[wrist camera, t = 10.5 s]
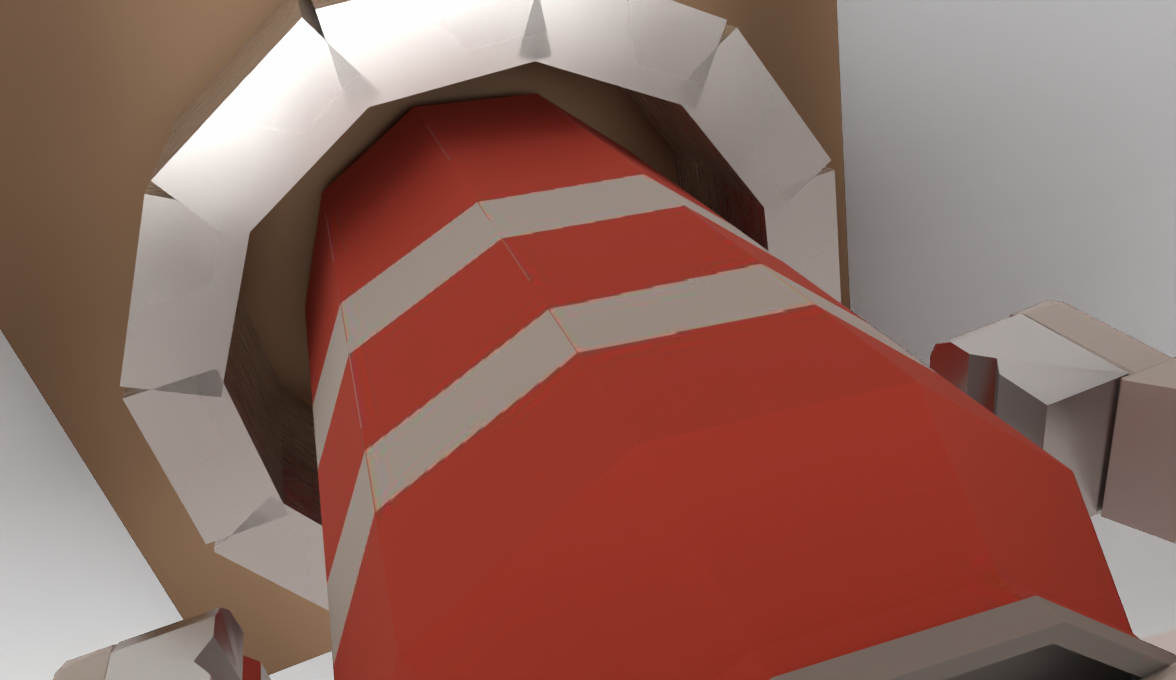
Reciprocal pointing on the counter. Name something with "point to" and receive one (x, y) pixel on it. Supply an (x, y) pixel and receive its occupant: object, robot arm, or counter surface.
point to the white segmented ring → (314, 123)
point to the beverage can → (654, 444)
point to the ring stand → (276, 244)
